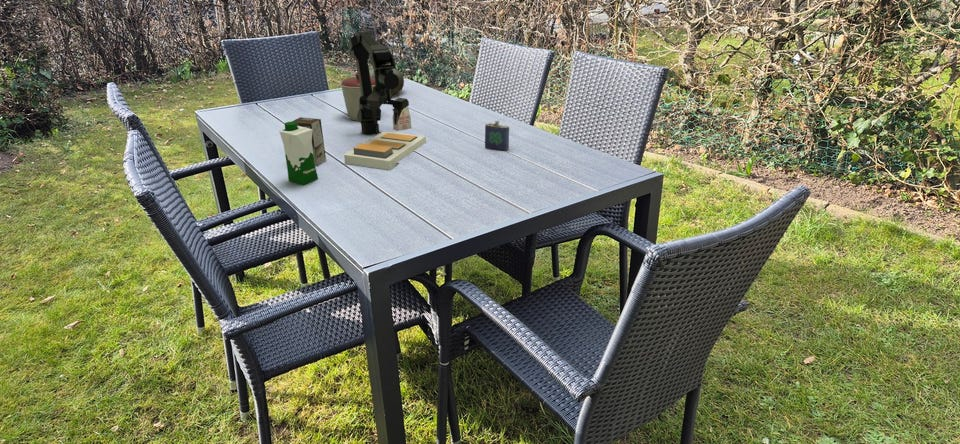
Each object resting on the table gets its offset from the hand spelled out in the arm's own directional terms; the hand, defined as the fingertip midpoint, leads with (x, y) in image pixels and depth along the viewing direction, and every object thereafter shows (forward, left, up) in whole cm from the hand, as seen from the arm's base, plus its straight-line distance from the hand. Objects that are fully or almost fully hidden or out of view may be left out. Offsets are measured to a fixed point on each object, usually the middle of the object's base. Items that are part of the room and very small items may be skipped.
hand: (385, 123), depth 223 cm
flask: (+40, +16, -11) cm, 45 cm away
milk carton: (-12, -38, -11) cm, 42 cm away
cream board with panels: (0, -4, -11) cm, 12 cm away
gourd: (-46, +77, -11) cm, 90 cm away
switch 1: (+2, -14, -8) cm, 16 cm away
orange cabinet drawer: (+2, +6, -10) cm, 11 cm away
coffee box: (-20, -22, -11) cm, 32 cm away
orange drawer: (+2, -4, -9) cm, 11 cm away
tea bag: (-6, +24, -11) cm, 27 cm away
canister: (-32, +35, -11) cm, 48 cm away
